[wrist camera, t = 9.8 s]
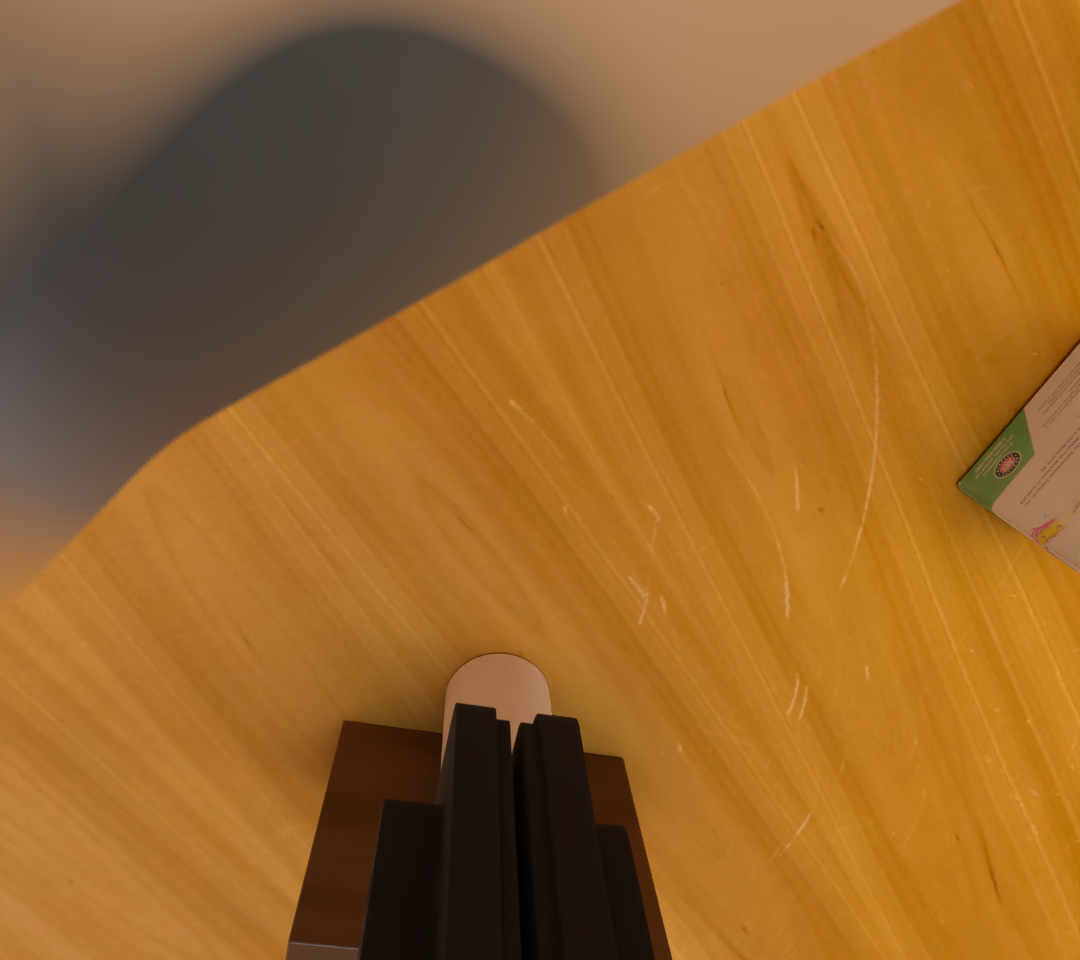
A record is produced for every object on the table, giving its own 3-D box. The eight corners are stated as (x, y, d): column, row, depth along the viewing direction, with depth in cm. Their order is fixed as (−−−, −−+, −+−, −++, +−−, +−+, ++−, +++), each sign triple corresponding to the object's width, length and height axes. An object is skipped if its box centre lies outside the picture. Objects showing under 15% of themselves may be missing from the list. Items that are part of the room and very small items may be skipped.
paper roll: (452, 643, 40) (471, 657, 29) (550, 658, 41) (603, 677, 30) (418, 839, 39) (426, 930, 28) (521, 852, 39) (567, 945, 28)
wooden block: (343, 720, 39) (288, 941, 28) (623, 757, 41) (677, 979, 30) (332, 786, 40) (275, 1023, 29) (604, 819, 42) (649, 1053, 31)
